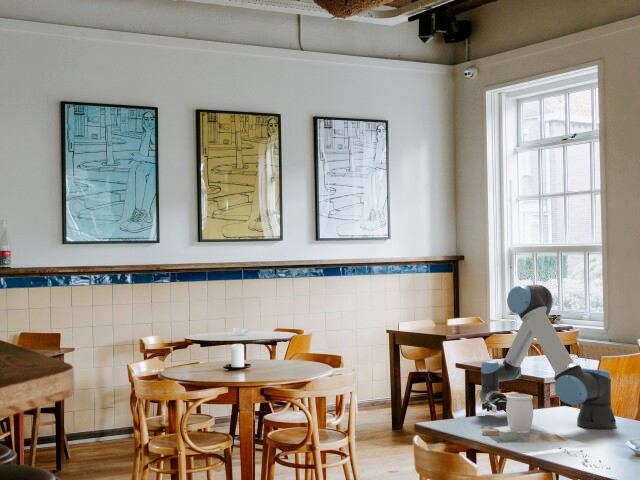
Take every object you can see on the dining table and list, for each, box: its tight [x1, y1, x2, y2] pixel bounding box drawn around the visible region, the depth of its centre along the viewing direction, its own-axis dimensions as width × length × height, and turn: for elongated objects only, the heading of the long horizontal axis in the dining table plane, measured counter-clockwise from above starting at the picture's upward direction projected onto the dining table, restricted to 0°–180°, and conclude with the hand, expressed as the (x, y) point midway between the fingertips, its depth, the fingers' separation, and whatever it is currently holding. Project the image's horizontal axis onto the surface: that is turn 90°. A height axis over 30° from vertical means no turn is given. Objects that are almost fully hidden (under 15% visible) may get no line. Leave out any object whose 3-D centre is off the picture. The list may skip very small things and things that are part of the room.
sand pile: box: [522, 433, 568, 443], centre depth 307 cm, size 13×12×1 cm
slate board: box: [488, 434, 530, 444], centre depth 306 cm, size 12×12×1 cm
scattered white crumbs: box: [564, 448, 611, 470], centre depth 277 cm, size 7×25×2 cm, turn 1°
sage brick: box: [498, 429, 518, 440], centre depth 306 cm, size 6×3×3 cm, turn 114°
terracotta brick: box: [481, 428, 501, 436], centre depth 314 cm, size 6×3×3 cm, turn 98°
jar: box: [505, 393, 534, 434], centre depth 321 cm, size 11×10×15 cm
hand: (512, 409), depth 330 cm, fingers open, 13 cm apart
